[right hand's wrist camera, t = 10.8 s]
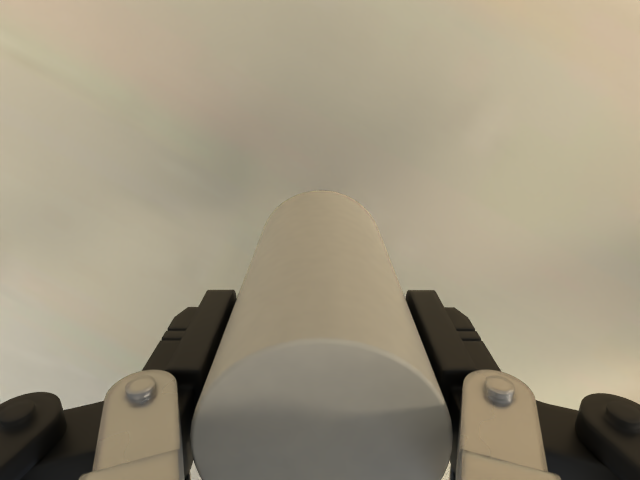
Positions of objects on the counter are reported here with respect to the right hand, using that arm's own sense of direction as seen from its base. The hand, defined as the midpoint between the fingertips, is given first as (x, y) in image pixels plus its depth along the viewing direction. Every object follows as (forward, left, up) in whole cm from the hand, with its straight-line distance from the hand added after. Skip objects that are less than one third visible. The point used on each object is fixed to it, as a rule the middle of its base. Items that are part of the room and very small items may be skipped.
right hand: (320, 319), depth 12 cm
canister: (0, 0, -5) cm, 5 cm away
